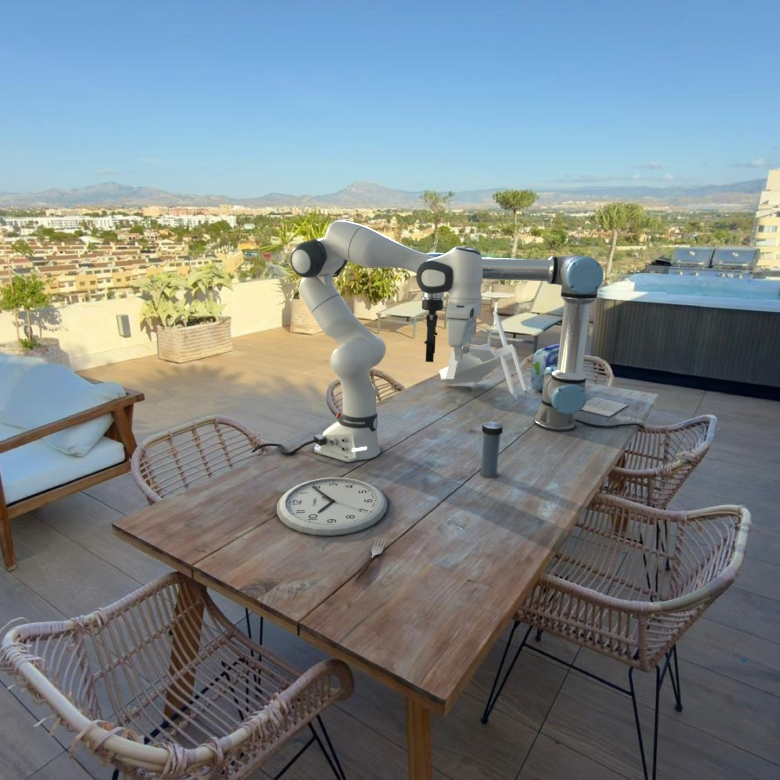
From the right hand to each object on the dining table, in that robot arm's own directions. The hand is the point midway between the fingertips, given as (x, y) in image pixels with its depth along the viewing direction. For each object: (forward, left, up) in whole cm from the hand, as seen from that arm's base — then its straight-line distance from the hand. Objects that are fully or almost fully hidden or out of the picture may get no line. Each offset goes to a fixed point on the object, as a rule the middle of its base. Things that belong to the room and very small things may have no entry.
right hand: (430, 357), depth 190 cm
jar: (-21, +34, -28) cm, 49 cm away
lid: (-21, +34, -12) cm, 42 cm away
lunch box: (-56, -62, -28) cm, 88 cm away
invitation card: (-73, -38, -28) cm, 87 cm away
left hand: (-10, +39, +10) cm, 42 cm away
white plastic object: (-22, -50, -28) cm, 61 cm away
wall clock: (+23, +61, -28) cm, 71 cm away
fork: (+9, +85, -28) cm, 90 cm away
